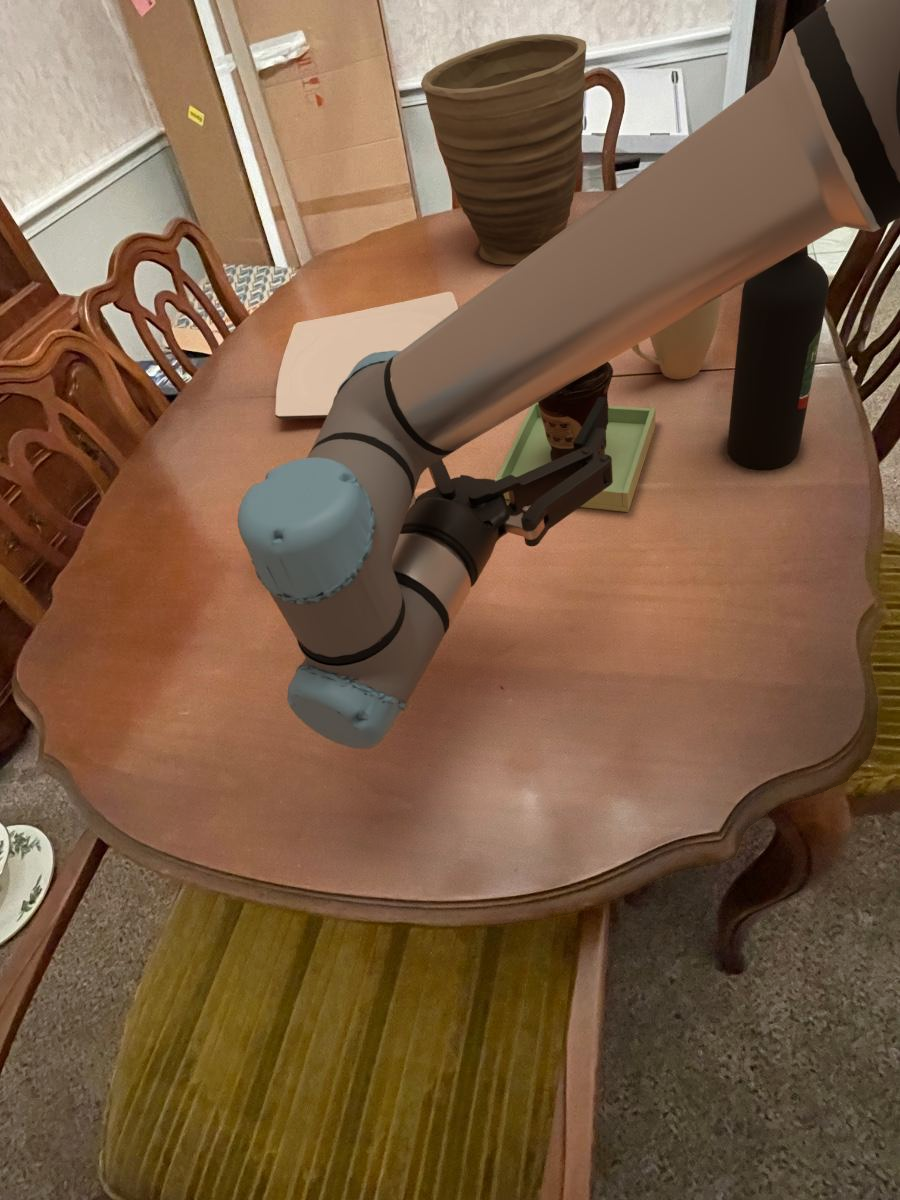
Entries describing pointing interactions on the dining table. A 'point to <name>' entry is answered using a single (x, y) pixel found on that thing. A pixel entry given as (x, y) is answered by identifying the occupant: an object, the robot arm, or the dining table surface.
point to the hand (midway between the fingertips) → (532, 402)
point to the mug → (685, 342)
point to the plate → (347, 350)
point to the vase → (511, 137)
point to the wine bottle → (776, 361)
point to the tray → (624, 445)
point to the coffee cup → (572, 408)
